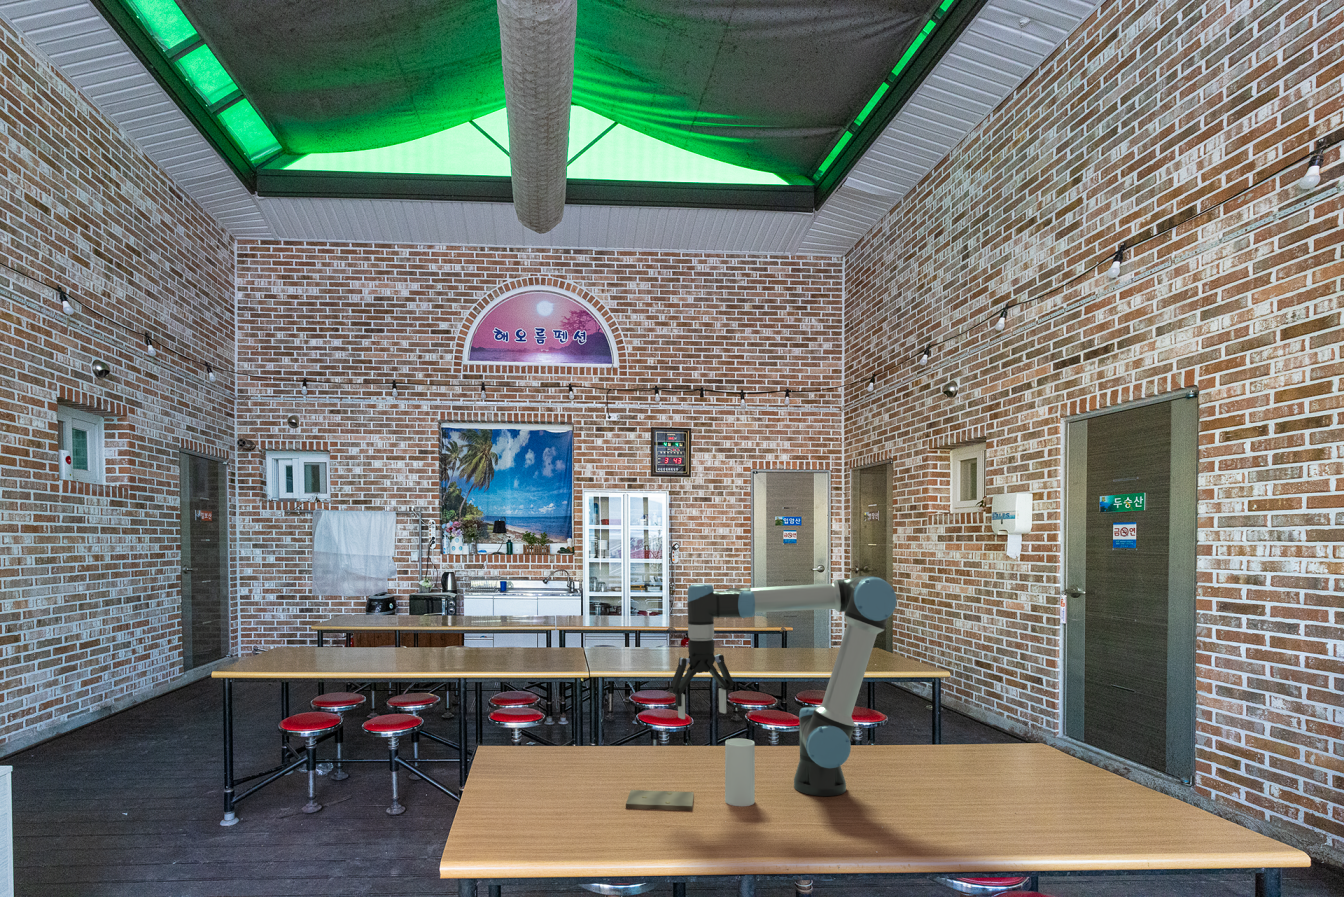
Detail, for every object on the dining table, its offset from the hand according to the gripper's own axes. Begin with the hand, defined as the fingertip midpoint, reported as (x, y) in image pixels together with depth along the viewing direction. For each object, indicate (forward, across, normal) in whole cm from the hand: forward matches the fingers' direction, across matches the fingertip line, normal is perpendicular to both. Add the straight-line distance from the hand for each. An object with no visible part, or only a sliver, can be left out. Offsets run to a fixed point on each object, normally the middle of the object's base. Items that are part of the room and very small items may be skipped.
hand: (702, 715), depth 218 cm
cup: (+23, -8, +6) cm, 25 cm away
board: (+22, +12, -4) cm, 26 cm away
